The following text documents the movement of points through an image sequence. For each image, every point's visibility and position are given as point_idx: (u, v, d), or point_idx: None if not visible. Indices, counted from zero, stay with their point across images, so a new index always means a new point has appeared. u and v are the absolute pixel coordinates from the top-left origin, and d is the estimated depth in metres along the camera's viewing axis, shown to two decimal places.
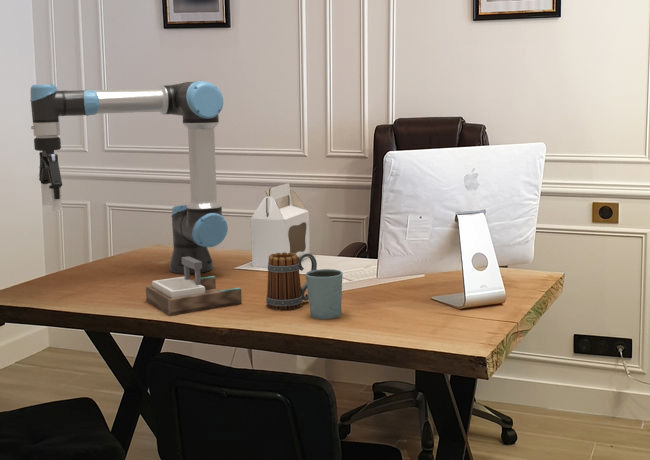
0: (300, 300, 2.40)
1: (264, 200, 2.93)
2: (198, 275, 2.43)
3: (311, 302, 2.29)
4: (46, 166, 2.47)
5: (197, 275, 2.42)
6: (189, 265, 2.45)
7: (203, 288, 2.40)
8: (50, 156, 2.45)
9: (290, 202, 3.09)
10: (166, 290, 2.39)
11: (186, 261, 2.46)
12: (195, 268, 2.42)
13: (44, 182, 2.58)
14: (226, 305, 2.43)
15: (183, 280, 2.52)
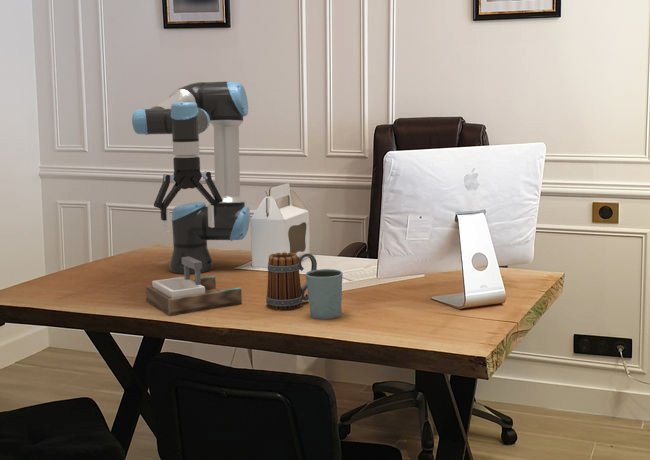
0: (300, 300, 2.40)
1: (264, 200, 2.93)
2: (198, 275, 2.43)
3: (311, 302, 2.29)
4: (173, 186, 2.42)
5: (197, 275, 2.42)
6: (189, 265, 2.45)
7: (203, 288, 2.40)
8: (163, 176, 2.39)
9: (290, 202, 3.09)
10: (166, 290, 2.39)
11: (186, 261, 2.46)
12: (195, 268, 2.42)
13: (211, 203, 2.47)
14: (226, 305, 2.43)
15: (183, 280, 2.52)
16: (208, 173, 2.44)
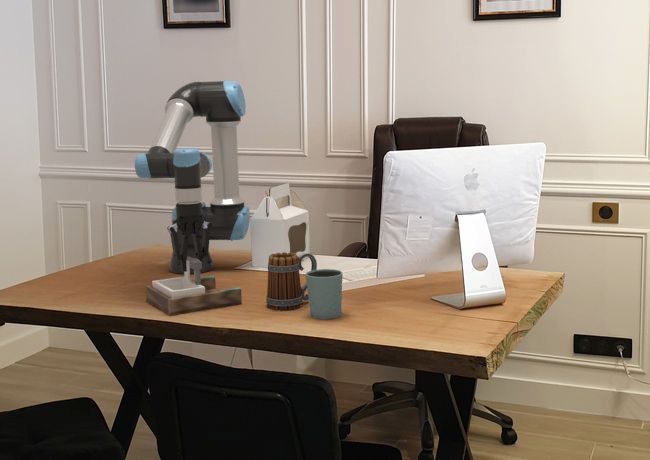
0: (300, 300, 2.40)
1: (264, 200, 2.93)
2: (198, 275, 2.43)
3: (311, 302, 2.29)
4: (181, 234, 2.45)
5: (197, 275, 2.42)
6: None
7: (203, 288, 2.40)
8: (168, 229, 2.42)
9: (290, 202, 3.09)
10: (166, 290, 2.39)
11: None
12: (195, 268, 2.42)
13: (197, 257, 2.47)
14: (226, 305, 2.43)
15: (183, 280, 2.52)
16: (210, 224, 2.46)
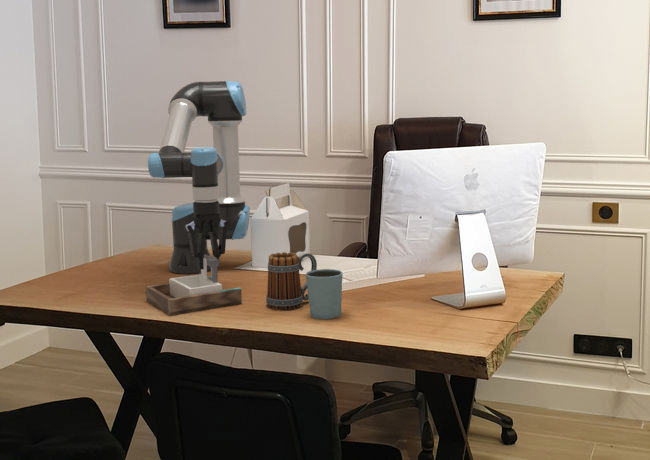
0: (300, 300, 2.40)
1: (264, 200, 2.93)
2: (215, 273, 2.45)
3: (311, 302, 2.29)
4: (198, 232, 2.48)
5: (214, 273, 2.45)
6: None
7: (220, 285, 2.43)
8: (185, 227, 2.45)
9: (290, 202, 3.09)
10: (184, 287, 2.42)
11: None
12: (212, 266, 2.44)
13: (213, 255, 2.50)
14: (226, 305, 2.43)
15: (200, 278, 2.55)
16: (226, 222, 2.49)
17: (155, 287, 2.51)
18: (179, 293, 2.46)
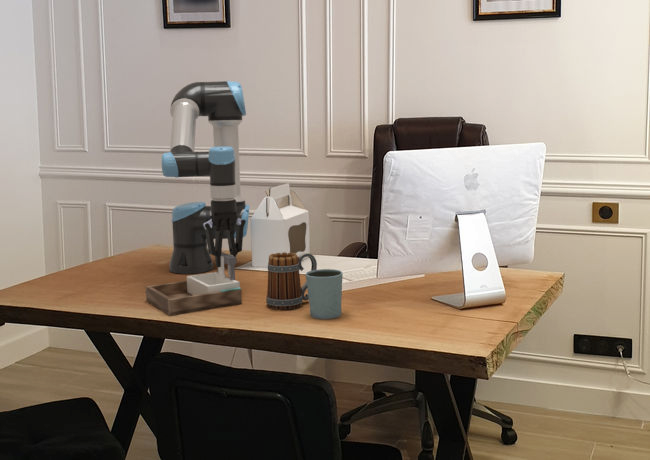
0: (300, 300, 2.40)
1: (264, 200, 2.93)
2: (232, 270, 2.48)
3: (311, 302, 2.29)
4: (215, 230, 2.51)
5: (231, 270, 2.48)
6: None
7: (238, 283, 2.46)
8: (203, 225, 2.47)
9: (290, 202, 3.09)
10: (202, 285, 2.45)
11: None
12: (230, 263, 2.47)
13: (230, 252, 2.53)
14: (226, 305, 2.43)
15: (216, 275, 2.58)
16: (243, 220, 2.52)
17: (155, 287, 2.51)
18: (197, 291, 2.49)
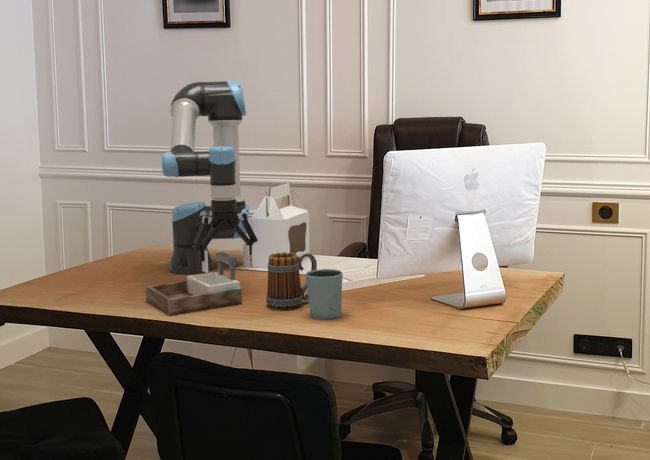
0: (300, 300, 2.40)
1: (264, 200, 2.93)
2: (233, 270, 2.48)
3: (311, 302, 2.29)
4: (210, 227, 2.50)
5: (232, 270, 2.48)
6: (223, 261, 2.50)
7: (238, 283, 2.46)
8: (202, 218, 2.47)
9: (290, 202, 3.09)
10: (202, 285, 2.45)
11: (221, 257, 2.52)
12: (230, 263, 2.47)
13: (246, 243, 2.55)
14: (226, 305, 2.43)
15: (217, 275, 2.58)
16: (244, 214, 2.52)
17: (155, 287, 2.51)
18: (197, 291, 2.49)
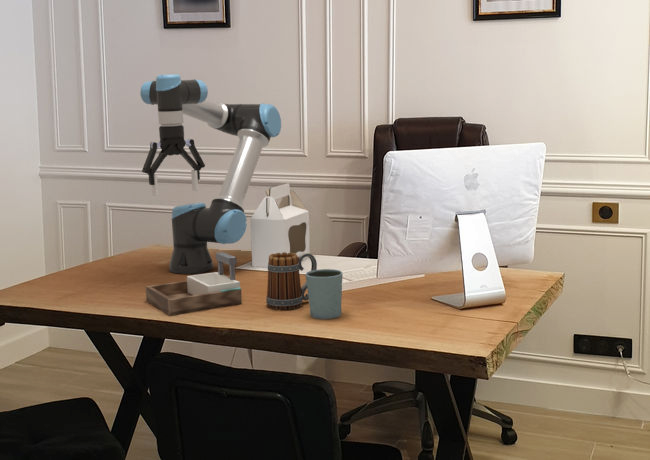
0: (300, 300, 2.40)
1: (264, 200, 2.93)
2: (233, 270, 2.48)
3: (311, 302, 2.29)
4: (159, 153, 2.60)
5: (232, 270, 2.48)
6: (223, 261, 2.50)
7: (238, 283, 2.46)
8: (150, 144, 2.58)
9: (290, 202, 3.09)
10: (202, 285, 2.45)
11: (221, 257, 2.52)
12: (230, 263, 2.47)
13: (194, 168, 2.67)
14: (226, 305, 2.43)
15: (217, 275, 2.58)
16: (191, 140, 2.63)
17: (155, 287, 2.51)
18: (197, 291, 2.49)
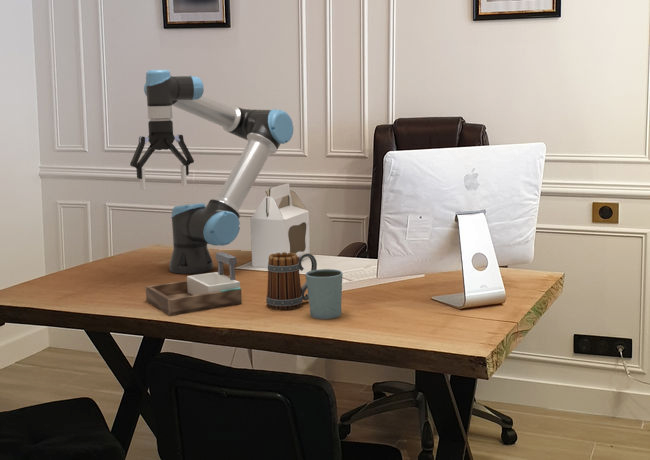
0: (300, 300, 2.40)
1: (264, 200, 2.93)
2: (233, 270, 2.48)
3: (311, 302, 2.29)
4: (148, 147, 2.63)
5: (232, 270, 2.48)
6: (223, 261, 2.50)
7: (238, 283, 2.46)
8: (139, 138, 2.61)
9: (290, 202, 3.09)
10: (202, 285, 2.45)
11: (221, 257, 2.52)
12: (230, 263, 2.47)
13: (183, 164, 2.69)
14: (226, 305, 2.43)
15: (217, 275, 2.58)
16: (180, 136, 2.65)
17: (155, 287, 2.51)
18: (197, 291, 2.49)
